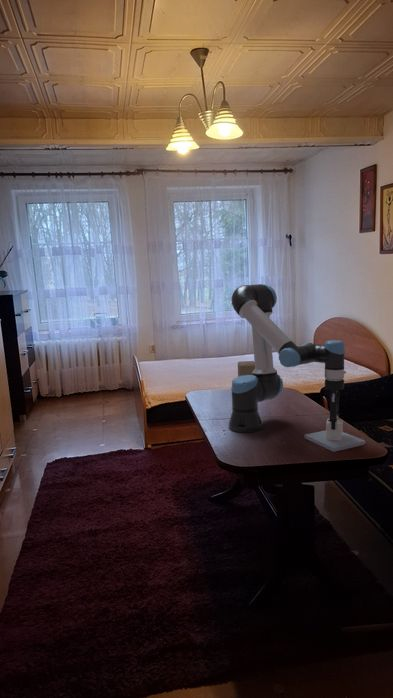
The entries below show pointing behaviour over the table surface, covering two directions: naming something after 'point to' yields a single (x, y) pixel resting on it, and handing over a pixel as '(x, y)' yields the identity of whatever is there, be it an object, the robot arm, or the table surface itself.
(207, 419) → the table surface
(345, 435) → the plate
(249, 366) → the wooden block
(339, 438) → the white box
